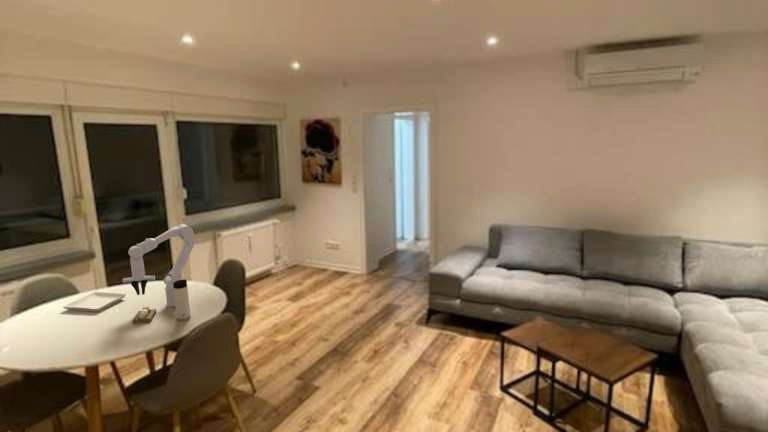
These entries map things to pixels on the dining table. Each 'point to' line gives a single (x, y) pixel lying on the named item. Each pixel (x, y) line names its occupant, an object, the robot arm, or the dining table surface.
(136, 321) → the panel
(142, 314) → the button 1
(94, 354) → the dining table surface
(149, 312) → the button
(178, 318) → the travel mug
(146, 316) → the button mid
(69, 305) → the salad plate
